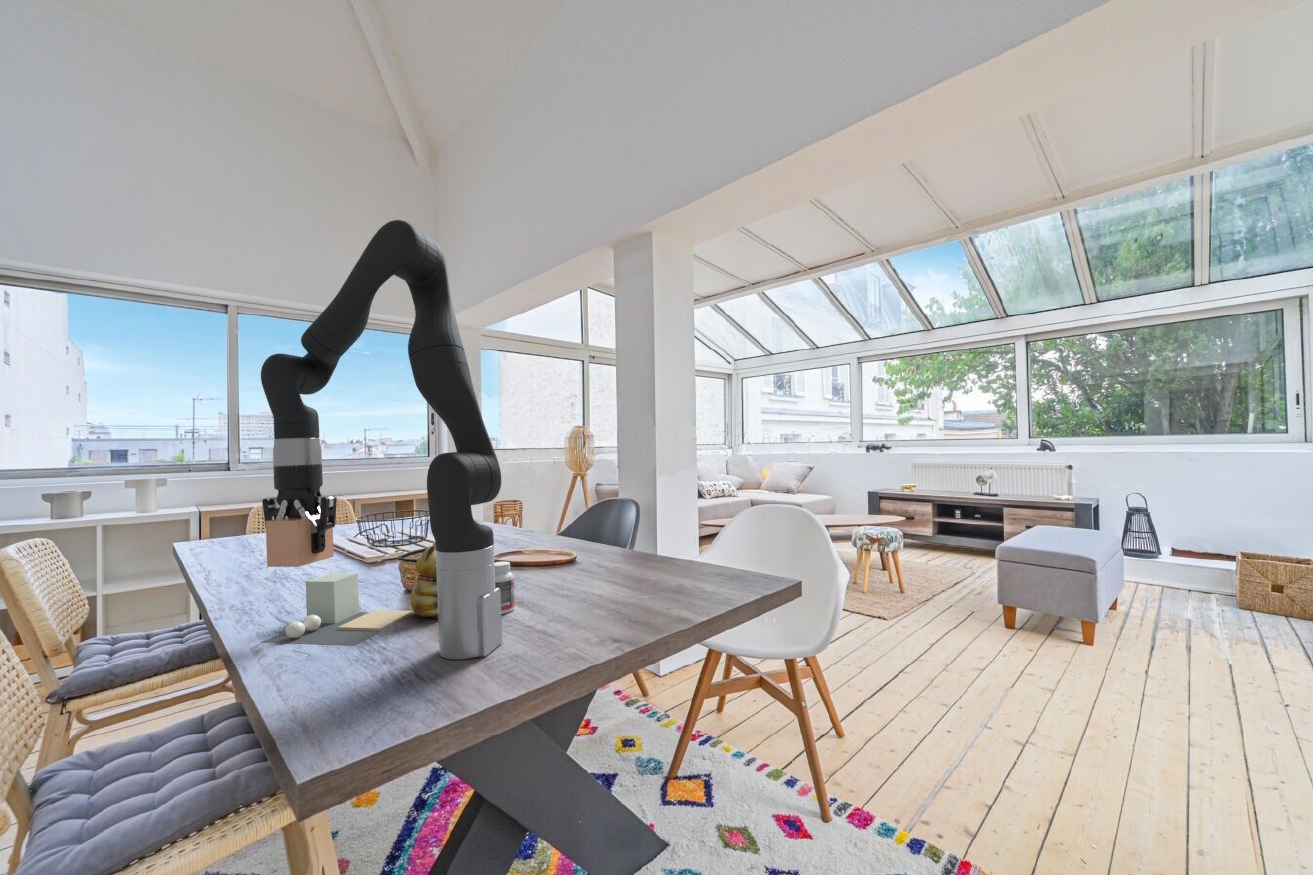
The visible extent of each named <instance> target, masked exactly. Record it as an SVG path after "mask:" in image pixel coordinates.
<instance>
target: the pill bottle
mask: <svg viewBox="0 0 1313 875" xmlns="http://www.w3.org/2000/svg"><path fill="white" fill-rule="evenodd" d="M494 565H495V588H500V593H501V615H504V614H508V613H511V612H513V611H515V608H516V607H515V606H516V605H515V602H516V600H515V576H514V574H513V573H512V572H510V570H511V563H510V561H496V562H495V561H494Z"/></svg>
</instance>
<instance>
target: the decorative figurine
mask: <svg viewBox="0 0 1313 875" xmlns="http://www.w3.org/2000/svg"><path fill="white" fill-rule="evenodd" d="M436 568H437V567H436V544H435V543H434V544H433V545H430V546H428V547H426V548H425V549H423V551H422V554H421V555H420V556H419V557H418V558H417V560H416V562H415V569H416V572H417V573H418V575H417V581H416V582H415V584H414V585H413V586H412V587H413V588H412V589H411V594H410V605H411V609H412V611H414V613H415V614H414V615H417V616H420V618H432V619H433V620H438V599H437V571H436Z"/></svg>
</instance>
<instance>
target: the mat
mask: <svg viewBox="0 0 1313 875" xmlns="http://www.w3.org/2000/svg"><path fill="white" fill-rule="evenodd" d="M413 615H416V614H415V613H414V611H413V610H392V609H391V610H387V609H385V610H384V609H383V610H381V609H373V610H371V611H369V612H361V611H359V613H358V614H355V615H353V616H351V617H349V618H347V619H344V620H342V621H340V622H338V623H321V625H320V626H319V628H318V629H316V630H314V631H306V630H305V632H304V633H303V635H302V636H300V637H299V638H296V639H291V638H289V637H287V636H286V633H285V631H284V632H282V633H280V634H277V635H275V636H272V637H270V638H268V639H265V640H263V641H260V643H261V644H262V643H266V644H290V645H291V644H292V645H293V644H295V645H321V646H348V647H349V646H351V647H352V646H353V647H355V646H357V645H358V644H361V643H362V642H364V641H367V640H368V639H370V638H372V637H374V636H375V635H378V634H379V633H381V632H384V631H386V629H387V630H388V629H389V628H391V627H392V626H395V625H396V624H398V623H400V622H402V621H404V620H405V619H407V618H409V617H411V616H413Z"/></svg>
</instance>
